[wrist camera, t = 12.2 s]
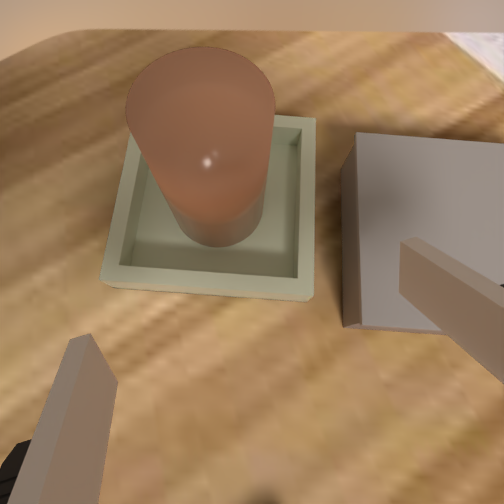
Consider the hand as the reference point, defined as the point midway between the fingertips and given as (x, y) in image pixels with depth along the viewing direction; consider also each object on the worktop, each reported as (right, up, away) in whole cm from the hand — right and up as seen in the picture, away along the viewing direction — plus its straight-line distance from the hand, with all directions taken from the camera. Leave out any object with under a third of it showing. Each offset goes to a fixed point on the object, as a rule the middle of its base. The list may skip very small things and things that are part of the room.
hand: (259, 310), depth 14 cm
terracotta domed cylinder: (-3, +6, +10) cm, 12 cm away
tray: (-3, +6, +10) cm, 12 cm away
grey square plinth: (+13, +3, +10) cm, 17 cm away
